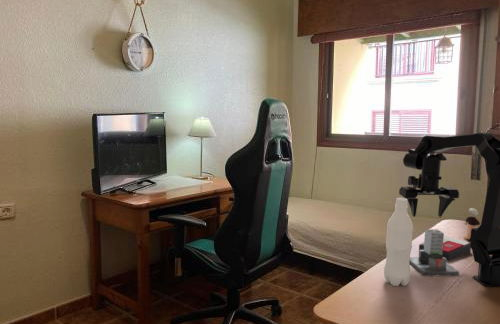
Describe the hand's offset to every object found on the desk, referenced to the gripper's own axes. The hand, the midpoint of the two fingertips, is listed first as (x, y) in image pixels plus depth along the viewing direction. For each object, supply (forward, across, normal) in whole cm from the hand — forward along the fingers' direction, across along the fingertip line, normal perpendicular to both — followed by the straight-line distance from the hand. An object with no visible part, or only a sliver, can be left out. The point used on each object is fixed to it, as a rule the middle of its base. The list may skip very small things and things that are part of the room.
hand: (426, 216), depth 142 cm
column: (+8, +4, +13) cm, 16 cm away
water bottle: (+13, +20, +23) cm, 33 cm away
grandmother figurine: (+14, -26, -14) cm, 32 cm away
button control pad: (+14, -8, -1) cm, 16 cm away
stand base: (+13, +4, +13) cm, 19 cm away
